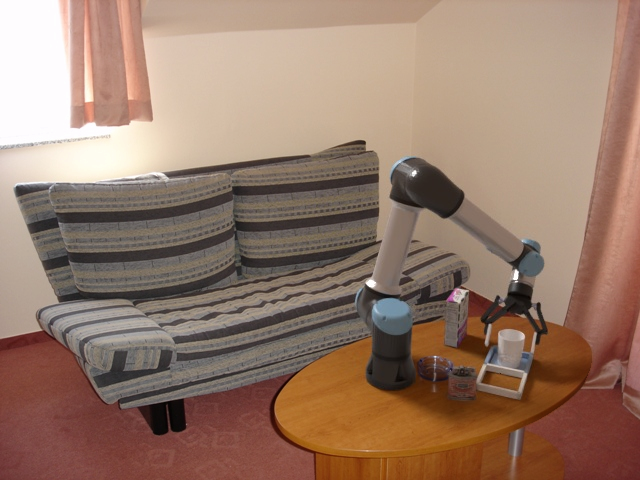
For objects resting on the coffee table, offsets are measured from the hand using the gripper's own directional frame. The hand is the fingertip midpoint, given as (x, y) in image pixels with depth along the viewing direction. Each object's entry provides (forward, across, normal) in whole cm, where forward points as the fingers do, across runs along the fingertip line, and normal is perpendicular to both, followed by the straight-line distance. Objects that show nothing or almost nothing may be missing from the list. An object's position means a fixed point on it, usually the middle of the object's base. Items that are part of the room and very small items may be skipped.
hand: (508, 349), depth 197 cm
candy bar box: (-3, +19, -13) cm, 23 cm away
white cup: (+3, 0, -6) cm, 7 cm away
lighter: (+20, +9, +11) cm, 24 cm away
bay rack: (+7, 0, -2) cm, 7 cm away
